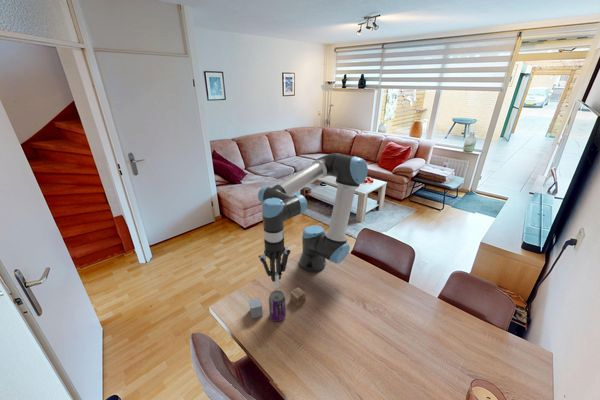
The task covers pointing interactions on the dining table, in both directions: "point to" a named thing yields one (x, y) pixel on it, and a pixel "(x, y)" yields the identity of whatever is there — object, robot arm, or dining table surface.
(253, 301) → the slate block
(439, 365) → the dining table surface
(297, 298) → the walnut block
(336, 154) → the robot arm
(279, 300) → the beverage can
